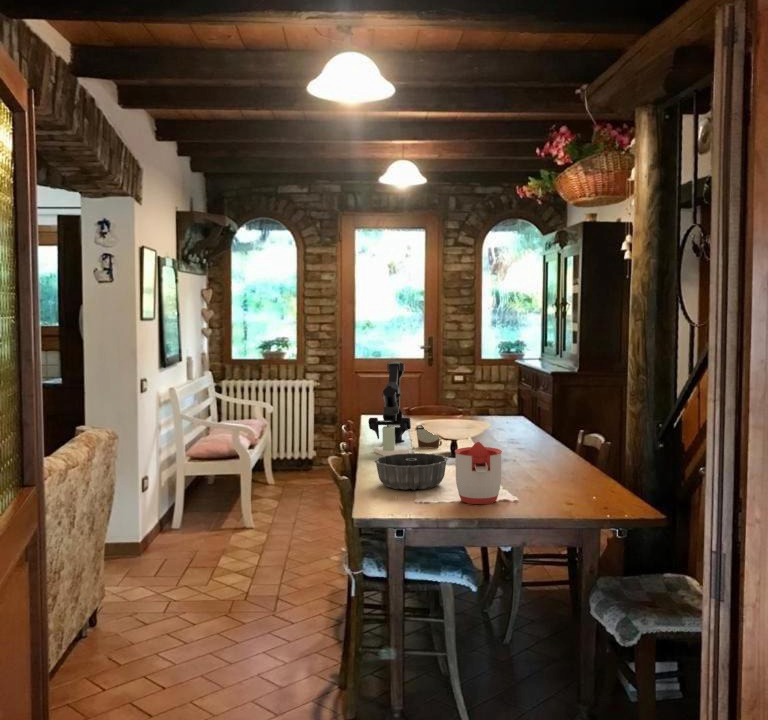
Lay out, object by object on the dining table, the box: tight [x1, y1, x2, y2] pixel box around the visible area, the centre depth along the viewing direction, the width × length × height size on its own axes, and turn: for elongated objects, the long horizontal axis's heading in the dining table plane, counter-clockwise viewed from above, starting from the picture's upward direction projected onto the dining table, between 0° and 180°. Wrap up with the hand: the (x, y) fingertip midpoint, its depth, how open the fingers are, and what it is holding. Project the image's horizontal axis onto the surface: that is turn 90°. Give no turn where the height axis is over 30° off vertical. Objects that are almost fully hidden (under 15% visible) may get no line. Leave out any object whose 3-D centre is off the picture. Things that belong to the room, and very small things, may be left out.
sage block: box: [382, 425, 396, 451], centre depth 348 cm, size 5×5×10 cm
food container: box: [414, 424, 441, 447], centre depth 366 cm, size 12×6×10 cm, turn 84°
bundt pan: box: [374, 452, 448, 491], centre depth 285 cm, size 26×26×10 cm
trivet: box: [373, 444, 410, 457], centre depth 351 cm, size 12×12×2 cm
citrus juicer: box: [454, 441, 502, 505], centre depth 259 cm, size 16×17×20 cm
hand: (388, 438), depth 347 cm, fingers open, 9 cm apart
